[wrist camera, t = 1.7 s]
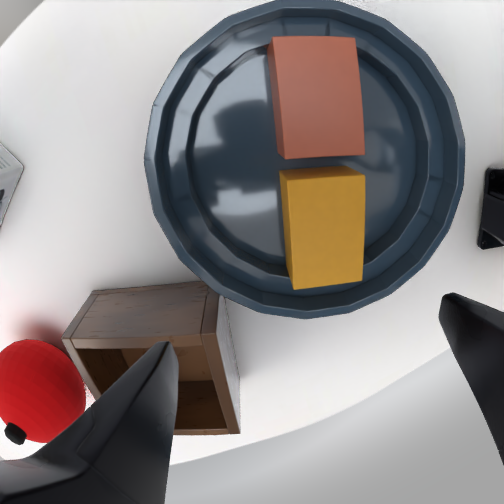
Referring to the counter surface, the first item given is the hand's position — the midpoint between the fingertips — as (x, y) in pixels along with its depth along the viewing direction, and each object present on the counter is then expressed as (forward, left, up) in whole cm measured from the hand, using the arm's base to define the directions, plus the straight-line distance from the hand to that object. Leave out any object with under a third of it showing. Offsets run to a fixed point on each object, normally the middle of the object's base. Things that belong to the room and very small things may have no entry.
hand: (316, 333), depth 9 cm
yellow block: (-2, 0, -10) cm, 10 cm away
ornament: (+21, +10, -11) cm, 26 cm away
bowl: (-2, -4, -11) cm, 11 cm away
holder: (+9, +8, -11) cm, 16 cm away
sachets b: (-2, -7, -10) cm, 13 cm away
